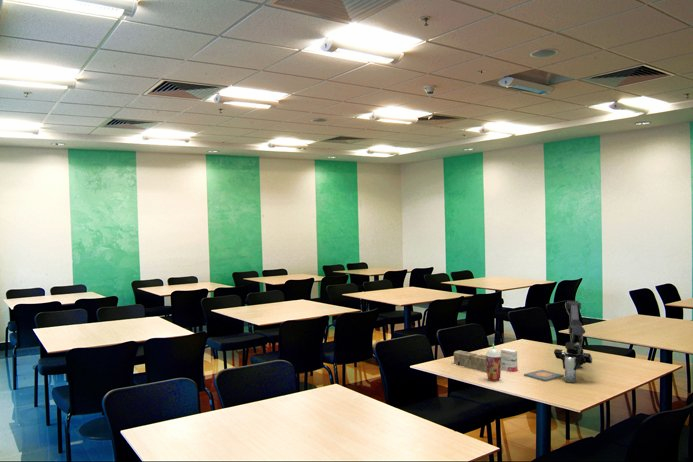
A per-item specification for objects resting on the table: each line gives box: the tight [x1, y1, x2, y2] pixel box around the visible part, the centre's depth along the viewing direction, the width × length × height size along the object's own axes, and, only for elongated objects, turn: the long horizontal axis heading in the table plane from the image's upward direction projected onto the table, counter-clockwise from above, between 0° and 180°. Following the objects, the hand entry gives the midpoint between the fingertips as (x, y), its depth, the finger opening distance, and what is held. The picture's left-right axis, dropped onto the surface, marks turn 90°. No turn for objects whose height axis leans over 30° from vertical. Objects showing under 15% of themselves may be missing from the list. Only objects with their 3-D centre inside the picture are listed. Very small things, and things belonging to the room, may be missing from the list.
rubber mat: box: [523, 369, 565, 382], centre depth 294 cm, size 16×14×1 cm
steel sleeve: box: [564, 356, 577, 384], centre depth 283 cm, size 6×6×13 cm
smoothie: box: [485, 343, 502, 382], centre depth 289 cm, size 8×8×20 cm
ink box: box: [500, 348, 519, 373], centre depth 309 cm, size 8×5×12 cm, turn 39°
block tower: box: [453, 350, 487, 373], centre depth 316 cm, size 8×8×29 cm
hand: (569, 369), depth 282 cm, fingers closed on steel sleeve, 5 cm apart
